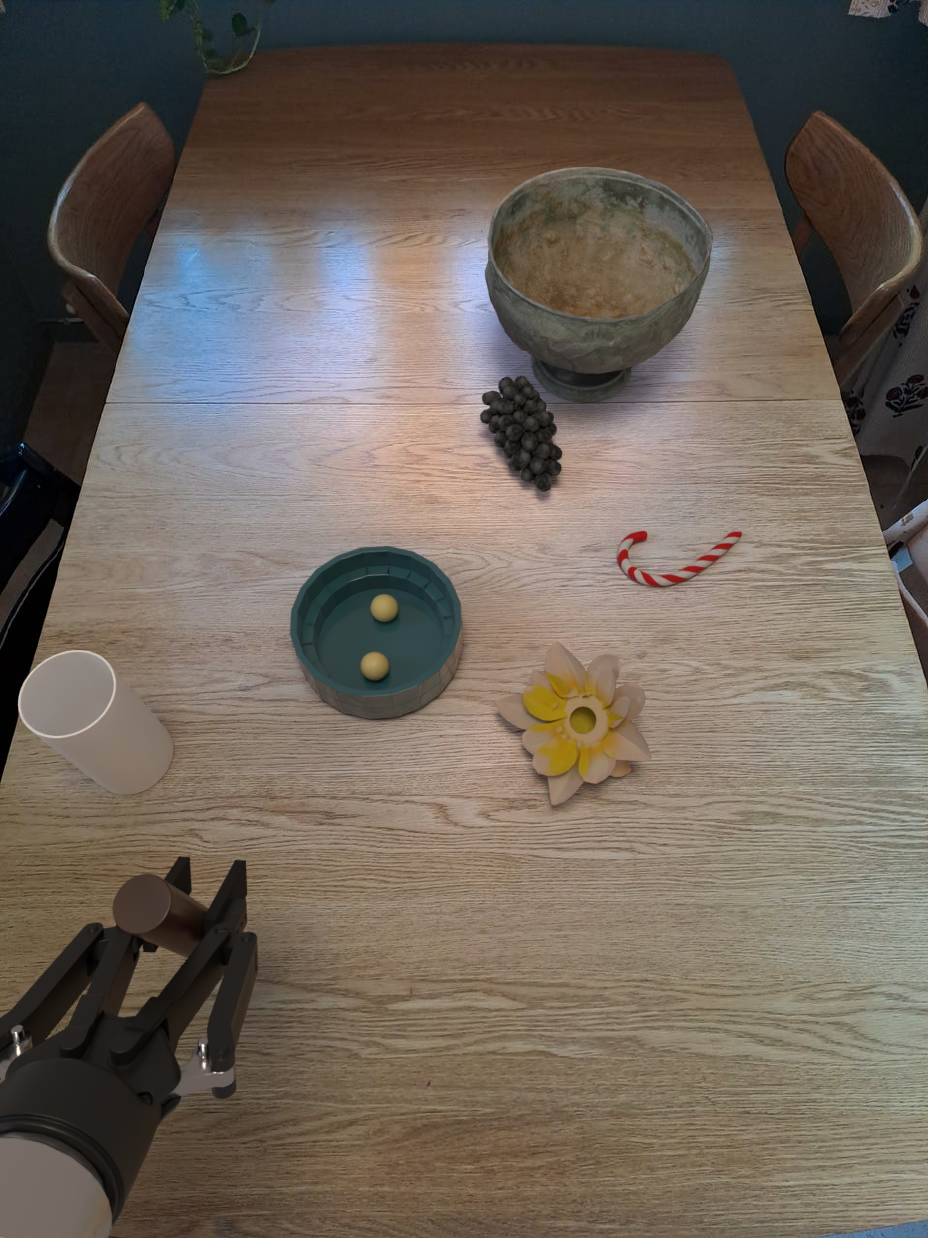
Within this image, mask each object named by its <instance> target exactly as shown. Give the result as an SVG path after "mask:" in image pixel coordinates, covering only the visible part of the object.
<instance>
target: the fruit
mask: <svg viewBox="0 0 928 1238" xmlns="http://www.w3.org/2000/svg"><path fill="white" fill-rule="evenodd" d="M497 386H498V387H497V388H498V391H497V390H488V391H485V392H483V394H482V396H481V401H482V403H483V405H485V406H489V407H488V408H486V409H484V410H482V412H481V413H480V414H479V418H480V422H481V423H482V424H484V425H487V427H488V430H489V432H490V433H491V434H493V435H494V439H493V441H494V445H495V446H496V447H497V448H499V449H500V448H501V449H502V455H503V456H504V457H505V458H506V459H508V460H509V462H508V464H507V466H508V468H509V469H510V470H511V471H512V472H515V473H517V472H520V478H521V480H523V481H524V482H526V483H530V482H534V483H535V485H536V487H537V490H538V491H539V492H541V493H546V492H549V491H550V490H551V489H552V486H553V481H552V478H551V477H555V478H556V477H558V476H559V475H560V474H561V472H562V469H563V467H562V463H560V462H559V461H560V460H561V459H562V458H563V453H564V452H563V450H562V448H560V446H558V445H556V444H555V443H554V440H553V437H554V436H555V435H556V434H557V432H558V427H557V425H556V424H555V423H554V421H555V415H554V413H553V412H552V411H549V410H547V409H548V404H547V402H546V401H545V400H544V399H543V398H542V397H541V394H540V392H539V391H538V390H537V389H535V386H534V385H533V383H532V382H530V380H529V379H528V377H527V376H525V375H518V376H516V378H515V379H512V378H511V377H510V376H503V377H501V378H500V379H499V381H498V385H497Z"/></svg>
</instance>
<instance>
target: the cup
mask: <svg viewBox="0 0 928 1238" xmlns="http://www.w3.org/2000/svg"><path fill="white" fill-rule="evenodd" d="M17 706H18V714H19V716H20V719H21V721H22V723H23V724H24V725H25V726H26V728H27V729H28V730H29V731H31V732H32V733H33V734H34V735H35V736H37V737H38V738H39V739H40V740H41V741H43V742H44V743H45V744H47V746H49V747H51V748H52V749H53V750H54V751H56V752H57V753H58V754H60V756H62V757H63V758H64V759H66V760H67V761H68V762H69V763H70V764H72V765H73V766H75V767H76V768H77V769H79V770H80V771H81V772H82V773H83V774H84V775H86V776H87V777H88V778H90V780H92V781H94V782H95V783H96V784H97V785H99V786H100V787H101V788H102V789H104V790H105V791H107V792H109V793H111V794H115V795H120V796H130V795H136V794H140V793H143V792H144V791H147V790H149V789H150V788H152V787H154V786H155V785H157V783H159V782H160V781H161V780H162V778H164V776H165V775H166V774H167V772H168V770H169V768H170V767H171V765H172V761H173V759H174V758H173V757H174V753H175V749H174V748H175V747H174V741H173V738H172V737H173V736H172V735H171V733H170V732H169V730H168V729H167V728H166V726H165V725H164V724H163V723H162V722H161V720H160V719H159V718H158V717H157V716H156V715H155V714H154V713H153V711H152V710H151V709H150V707H148V706H147V705H146V704H145V702H144V701H143V700H142V699H141V697H140V696H139V695H138V693H136V692H135V691H134V689H133V688H132V687H131V686H130V685H129V684H128V683H127V681H126V680H125V679H124V678H123V677H122V676H121V675H120V673H119V672H118V671H117V670H116V669H115V668H114V666H112V664H111V663H110V661H108V660H106V658H104V657H103V656H101V655H100V654H98V653H96V652H93V651H88V650H83V649H72V650H66V651H62V652H58V653H55V654H54V655H52V656H49V657H48V658H46V659H44V660H42V661H41V662H40V663H39V664H38V665H36V666H35V667H34V668H33V670H32V671H31V672H30V673H29V674H28V675H27V677H26V678H25V679H24V681H23V683H22V686H21V687H20V690H19V694H18V700H17Z"/></svg>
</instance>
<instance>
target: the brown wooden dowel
mask: <svg viewBox="0 0 928 1238" xmlns="http://www.w3.org/2000/svg"><path fill="white" fill-rule="evenodd" d="M111 908H112V910H111V911H112V917H113V920H114V922H115V925H116V924H117V926H118V927H119V928H120V929H121V930H122V931H124V932H126V933H128V934H131V935H133V936H135V937H138V938H140V939H143V940H145V941H147V942H150V943H152V944H155V945H157V946H159V947H160V948H161V949H164V950H167V951H169V952H172V953H174V954H177V955H179V956H181V957H184V958H186V959H187V958H188V957H189V956H190V954H191V953H192V952H193V951H194V949H195V948H196V947H197V946H198V944H199V943H200V942H201V940H202V939H203V938H204V922H203V918H204V916H205V914H206V913H207V911H208V909H209V907H207V906H206V905H204V904H203V903H201V902H200V901H198V900H197V899H195V898H193V897H192V896H190V895H187V894H186V893H184V892H182V891H181V890H179V889H178V888H176V887H175V886H173V885H172V884H170V883H168V882H167V881H165V880H164V878H163V877H161V876H159V875H156V874H152V873H143V874H138V875H135V876H133V877H131V878H130V879H129V880H127V881H125V882H124V883H123V884H122V885H121V887H120V888H119V889H118V891H117V892H116V893H115V896H114V899H113V902H112V907H111ZM244 932H245V930H244V931H243V933H244ZM159 947H158V948H159Z"/></svg>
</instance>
